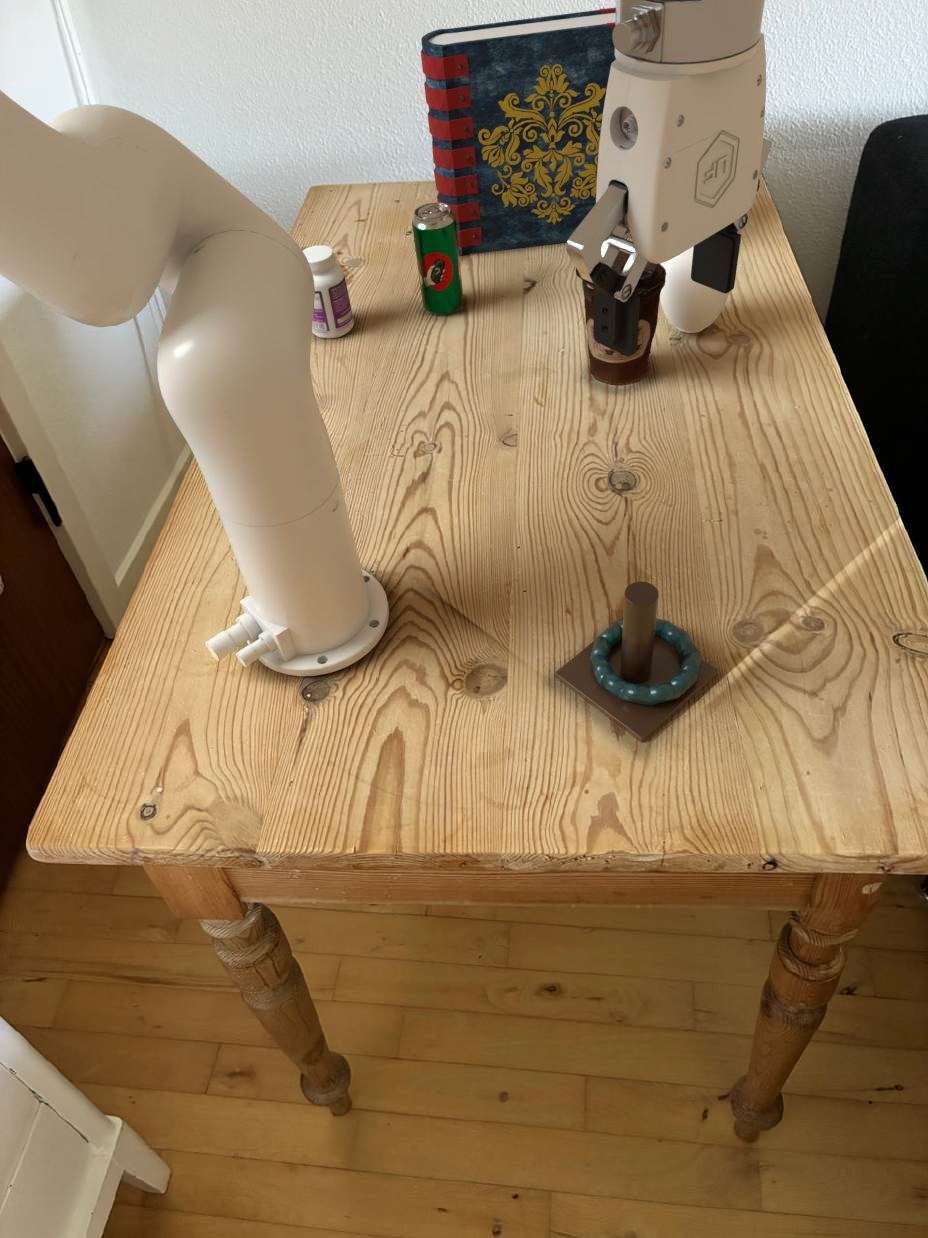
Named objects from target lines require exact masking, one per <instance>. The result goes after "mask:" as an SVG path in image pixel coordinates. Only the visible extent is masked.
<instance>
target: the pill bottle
mask: <svg viewBox="0 0 928 1238" xmlns="http://www.w3.org/2000/svg"><path fill="white" fill-rule="evenodd" d="M302 251H303V253H304V254H305V256H306V258H307V260H308V262H309V264H310V267H311V270H312V274H313V278H314V286H315V302H314V313H313V322H312V334H314V336H316V337H318V338H321V339H336V338H340V337H342V336H344V335H346V334H348V333H350V332H351V330H352V329H353V327H354V325H355V319H354V315H353V309H352V305H351V300H350V299H351V298H350V295H349V290H348V286H347V281H346V275H345V272H344V270H343V268H342V267H341V266H340V264H338V263H336V256H335V252H334V249H333V248H332V247H331V246H329V245H323V244H318V245H312V246H309V247H307V248H305V249H303V250H302Z"/></svg>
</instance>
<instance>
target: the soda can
mask: <svg viewBox="0 0 928 1238" xmlns="http://www.w3.org/2000/svg"><path fill="white" fill-rule="evenodd" d="M411 226H412V235H413V241H414V242H413V243H414V250H415V258H416V264H417V273H418V280H419V288H420V295H421V302H422V308H424V309H425V311H427V313H429V314H431V315H433V316H439V317H440V316H449V315H452V314H454V313H456V312H458V311H459V310H460V308H461V307H462V306H463V304H464V302H465V300H464V291H463V279H462V270H461V260H460V255H459V248H458V237H457V227H456V217H455V215H454V214H453V213H452V209H451V207H450V206H449V205H447V204H445V203H437V201H435V202H428V203H424V204H422V205H420V206H418V207H416V208H415V210H414V212H413V218H412V220H411Z"/></svg>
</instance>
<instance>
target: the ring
mask: <svg viewBox="0 0 928 1238" xmlns="http://www.w3.org/2000/svg"><path fill="white" fill-rule="evenodd" d="M620 620H621V619H620ZM620 620H617V621H614V622H613V623H612V624H610V625H609V626H608V627H607V628H606V629H605V630H603V631H602V632H600V633H599V634H598V635H597V636H596V638H595V639H594V641H595V642H594V641H593V642H594V646H593V649H592V653H591V656H590V664H591V666H592V669H593V671H594V674H595V676H596V678H597V681H598V683H599V684H600V685H601V686H602V687H604V688H605V689H606V690H608V691H609V692H610V693H612V694H613V695H615V696H616V697H617V698H619V699H620V700H623V701H628V702H633V703H638V704H644V705H654V704H659V703H663V702H667V701H671V700H675V699H678V698H679V697H680V696H681V695H683V694H684V693H685V692H686V691H687V690H688V689H689V688H690V687H691V686H692V685H694V684H695V683H696V681H697V679H698V674H699V669H700V663H701V659H702V654H701V653H700V651H699V649H698V647H697V645H696V643H695V641H694V639H693V637H692V635H691V634H689V632H687V631H685V630H684V629H683V628H681V627H679V626H677V625H676V624H674V623H673V622H671V621H670V620H667V619H663V618H657V617H656V628H655V636H659V637H662V638H664V639H665V640H667V641H668V642H670V643H671V644H673V645H674V646H676V647H677V649H678V651H679V653H680V655H681V657H682V664H681V669H680V672H679V673H678V674H677V675H676V676H675V677H673V678H672V679H671V680H670V681H669V682H667V683H663V684H659V685H654V686H650V687H648V686H642V685H637V684H631V683H628V682H626V681H625V680H624V679H622V678H621V677H619V676H618V675H616V674H615V673H614V672H613V670H612V668H611V665H610V663H609V661H608V658H609V655H610V651H611V648H612V647H613V646H614V645H615V644H616V643H617V642H619V641H620V640H621V639H622V631H623V620H621V621H620Z"/></svg>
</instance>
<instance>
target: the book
mask: <svg viewBox="0 0 928 1238" xmlns="http://www.w3.org/2000/svg"><path fill="white" fill-rule="evenodd" d="M615 19H616V7H609V8H608V7H607V8H599V9H594V10H586V11H579V12H570V13H562V14H555V15H548V16H547V15H546V16H538V17H532V18H531V17H530V18H522V19H516V20H515V19H514V20H507V21H500V22H499V21H498V22H491V23H484V24H483V23H482V24H475V25H467V26H459V27H452V28H438V29H435V30H432V31H430V32H428V33H426V34H424V35H423V36H422V37H421V39H420V40H421V50H420V60H421V67H422V73H423V74H424V76H425V77H424V78H425V81H424V84H423V86H424V87H423V88H424V95H425V102H426V104H427V106H428V112H427V121H428V131H429V134H430V135H431V147H432V150H431V151H432V162H433V164H434V169H433V175H434V182H435V183H434V184H435V190H436V191H437V195H436V202H437V203H445V204H447V205H449V206H450V207H451V209H452V213H453V214H454V215H455V217H456V227H457V237H458V248H459V256H462V257H463V256H465V255H466V256H468V255H470V254H478V253H488V252H494V251H495V252H496V251H504V250H510V249H511V250H512V249H519V248H527V247H528V248H529V247H535V246H546V245H552V244H561V243H567V241H568V239H569V237H570V236H571V235H572V234H573V232H574V231H575V230H576V228H577V227H578V226H579V225H580V223H581V222H582V221H583V219H584V218H585V217H586V216H587V214H588V213H589V212H590V211H591V209H592V208H593V207H594V205H595V204H596V187H597V168H598V154H599V144H600V134H601V126H602V118H603V110H604V103H605V97H606V90H607V84H608V79H609V74H610V69H611V64H612V62H614V61H615V60H616V57H615V46H614V44H613V39H612V33H613V29H614V27H615Z"/></svg>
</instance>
